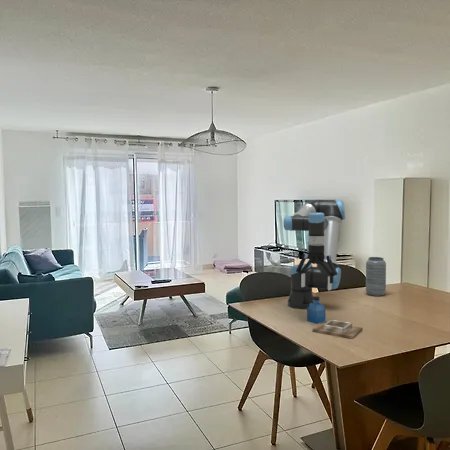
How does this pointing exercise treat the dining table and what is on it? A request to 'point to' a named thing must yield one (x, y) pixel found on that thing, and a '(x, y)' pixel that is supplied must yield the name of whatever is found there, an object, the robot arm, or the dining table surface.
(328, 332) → the brown board with frame
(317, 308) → the perfume bottle
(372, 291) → the vase
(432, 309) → the dining table surface
